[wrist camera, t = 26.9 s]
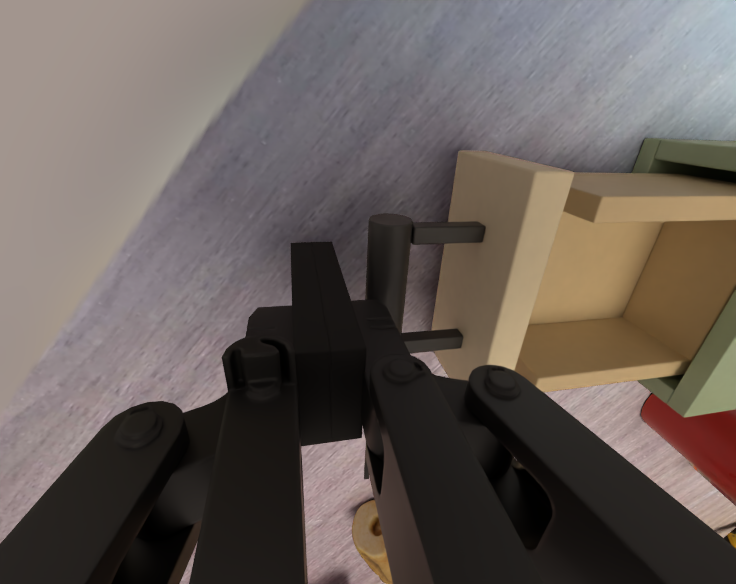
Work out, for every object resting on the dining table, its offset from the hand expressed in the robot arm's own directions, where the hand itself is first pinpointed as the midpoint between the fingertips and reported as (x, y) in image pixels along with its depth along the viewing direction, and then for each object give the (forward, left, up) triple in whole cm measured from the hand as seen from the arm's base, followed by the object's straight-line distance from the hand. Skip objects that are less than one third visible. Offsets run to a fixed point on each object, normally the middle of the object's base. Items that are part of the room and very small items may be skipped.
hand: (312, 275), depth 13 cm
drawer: (-5, +7, -1) cm, 9 cm away
